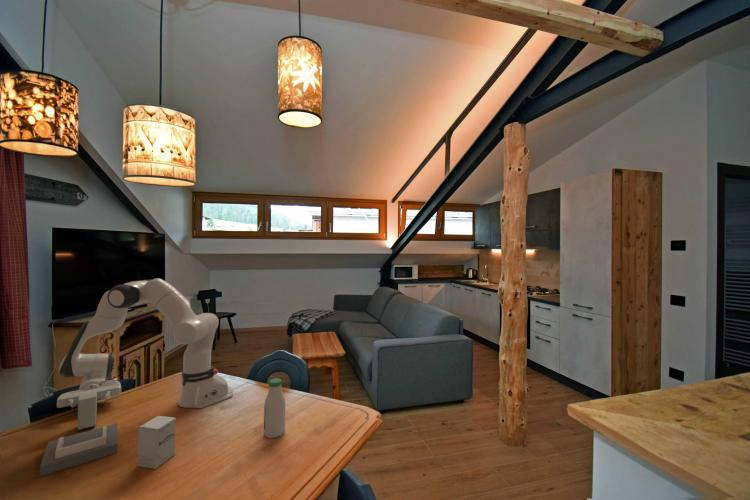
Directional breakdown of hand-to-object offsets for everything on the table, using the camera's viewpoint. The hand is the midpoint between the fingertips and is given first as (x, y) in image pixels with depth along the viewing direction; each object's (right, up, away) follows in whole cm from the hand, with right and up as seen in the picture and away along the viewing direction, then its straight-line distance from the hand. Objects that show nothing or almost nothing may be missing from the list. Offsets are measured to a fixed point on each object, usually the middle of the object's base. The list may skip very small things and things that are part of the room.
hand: (89, 401), depth 126 cm
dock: (+18, -6, -22) cm, 29 cm away
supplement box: (+46, -7, -25) cm, 53 cm away
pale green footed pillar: (+6, -6, -7) cm, 11 cm away
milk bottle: (+79, -8, -9) cm, 80 cm away
